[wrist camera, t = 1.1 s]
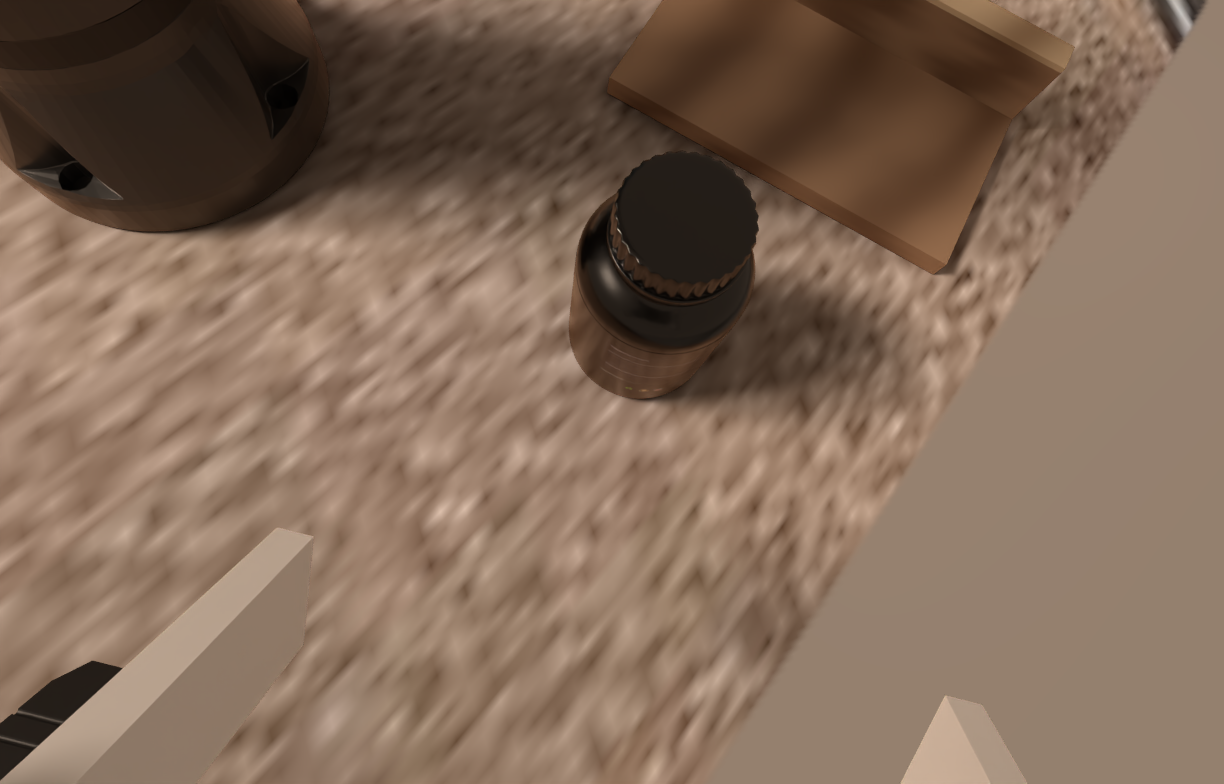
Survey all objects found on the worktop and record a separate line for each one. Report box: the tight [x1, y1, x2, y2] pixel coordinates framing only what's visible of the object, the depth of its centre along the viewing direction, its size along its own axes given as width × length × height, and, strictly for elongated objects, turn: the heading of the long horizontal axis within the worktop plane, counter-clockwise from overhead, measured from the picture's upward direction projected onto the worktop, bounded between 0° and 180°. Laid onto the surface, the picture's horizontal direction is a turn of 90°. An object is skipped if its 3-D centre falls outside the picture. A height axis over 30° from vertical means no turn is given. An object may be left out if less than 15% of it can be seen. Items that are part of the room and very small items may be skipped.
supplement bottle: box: [569, 151, 759, 399], centre depth 27 cm, size 7×7×12 cm
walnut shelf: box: [607, 0, 1075, 274], centre depth 35 cm, size 20×12×5 cm, turn 61°
